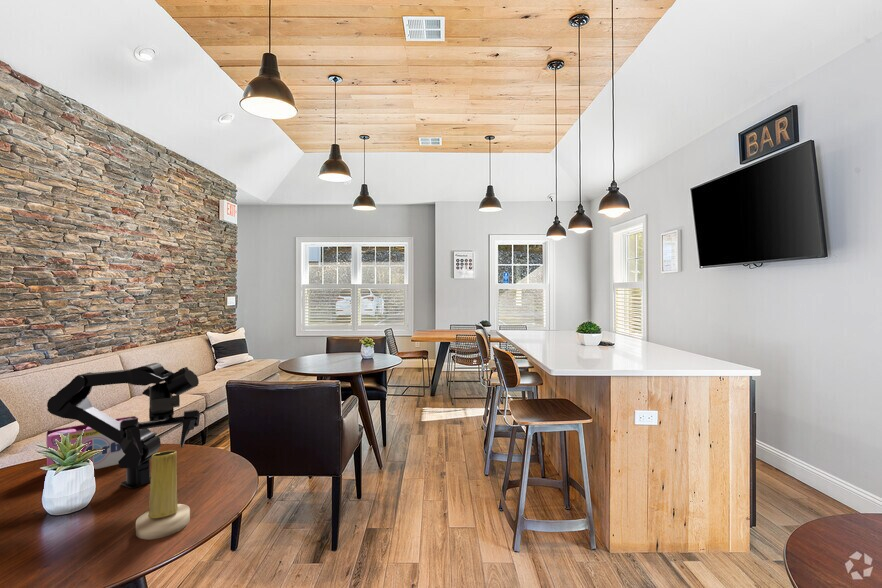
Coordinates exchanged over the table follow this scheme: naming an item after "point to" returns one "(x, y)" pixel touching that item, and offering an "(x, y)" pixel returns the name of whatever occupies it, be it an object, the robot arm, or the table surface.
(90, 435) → the gum box
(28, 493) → the table surface
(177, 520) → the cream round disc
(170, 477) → the vase
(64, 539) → the table surface
